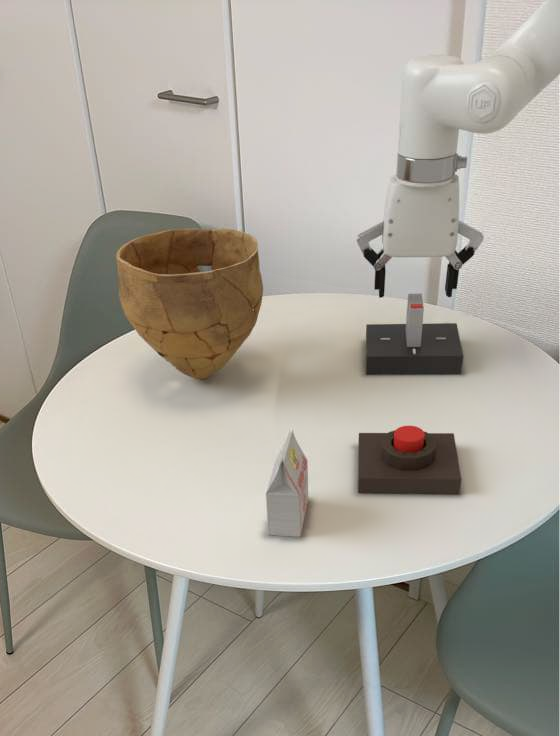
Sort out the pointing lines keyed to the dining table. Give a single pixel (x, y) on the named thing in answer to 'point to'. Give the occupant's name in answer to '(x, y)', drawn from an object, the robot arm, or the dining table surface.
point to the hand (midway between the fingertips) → (414, 293)
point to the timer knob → (414, 320)
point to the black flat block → (413, 350)
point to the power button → (409, 439)
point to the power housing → (408, 465)
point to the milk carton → (288, 491)
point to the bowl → (192, 294)
